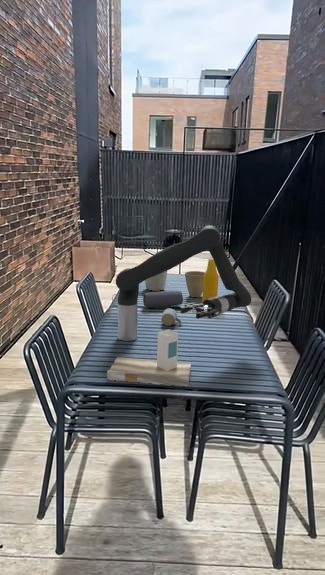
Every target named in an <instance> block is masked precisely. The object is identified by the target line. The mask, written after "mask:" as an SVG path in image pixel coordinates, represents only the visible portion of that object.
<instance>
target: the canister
mask: <svg viewBox="0 0 325 575" xmlns="http://www.w3.org/2000/svg"><path fill="white" fill-rule="evenodd" d="M167 275H168V271H165V272H163V273H161V274H158V275H156V276H153V277H151V278H148V279H146V280H145V281H144V284H145V289H146V290H147V289H148V290H147V291H150V290H152V291H151V292H161V291H160V290H162V291H164V289H165V287H166V282H167Z"/></svg>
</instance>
